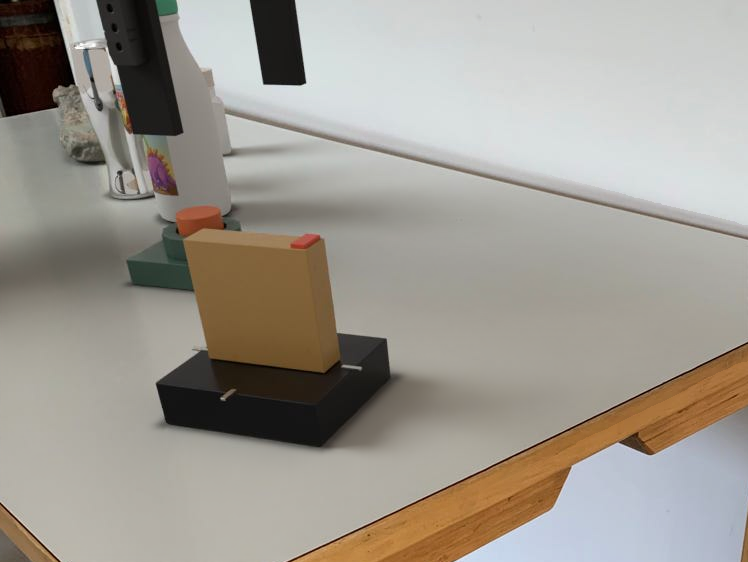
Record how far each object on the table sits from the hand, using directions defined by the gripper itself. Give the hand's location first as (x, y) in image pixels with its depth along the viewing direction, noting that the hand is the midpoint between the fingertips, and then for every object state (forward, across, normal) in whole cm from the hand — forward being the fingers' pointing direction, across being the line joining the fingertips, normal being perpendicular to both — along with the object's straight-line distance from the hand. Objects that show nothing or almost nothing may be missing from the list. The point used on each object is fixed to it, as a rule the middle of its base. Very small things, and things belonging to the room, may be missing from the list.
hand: (227, 107), depth 57 cm
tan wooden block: (+16, +1, 0) cm, 16 cm away
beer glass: (+18, +44, +44) cm, 66 cm away
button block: (+18, +23, +20) cm, 36 cm away
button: (+15, +23, +20) cm, 34 cm away
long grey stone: (+18, +68, +68) cm, 98 cm away
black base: (+19, +1, 0) cm, 19 cm away
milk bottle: (+19, +38, +32) cm, 54 cm away
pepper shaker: (+18, +62, +45) cm, 79 cm away
